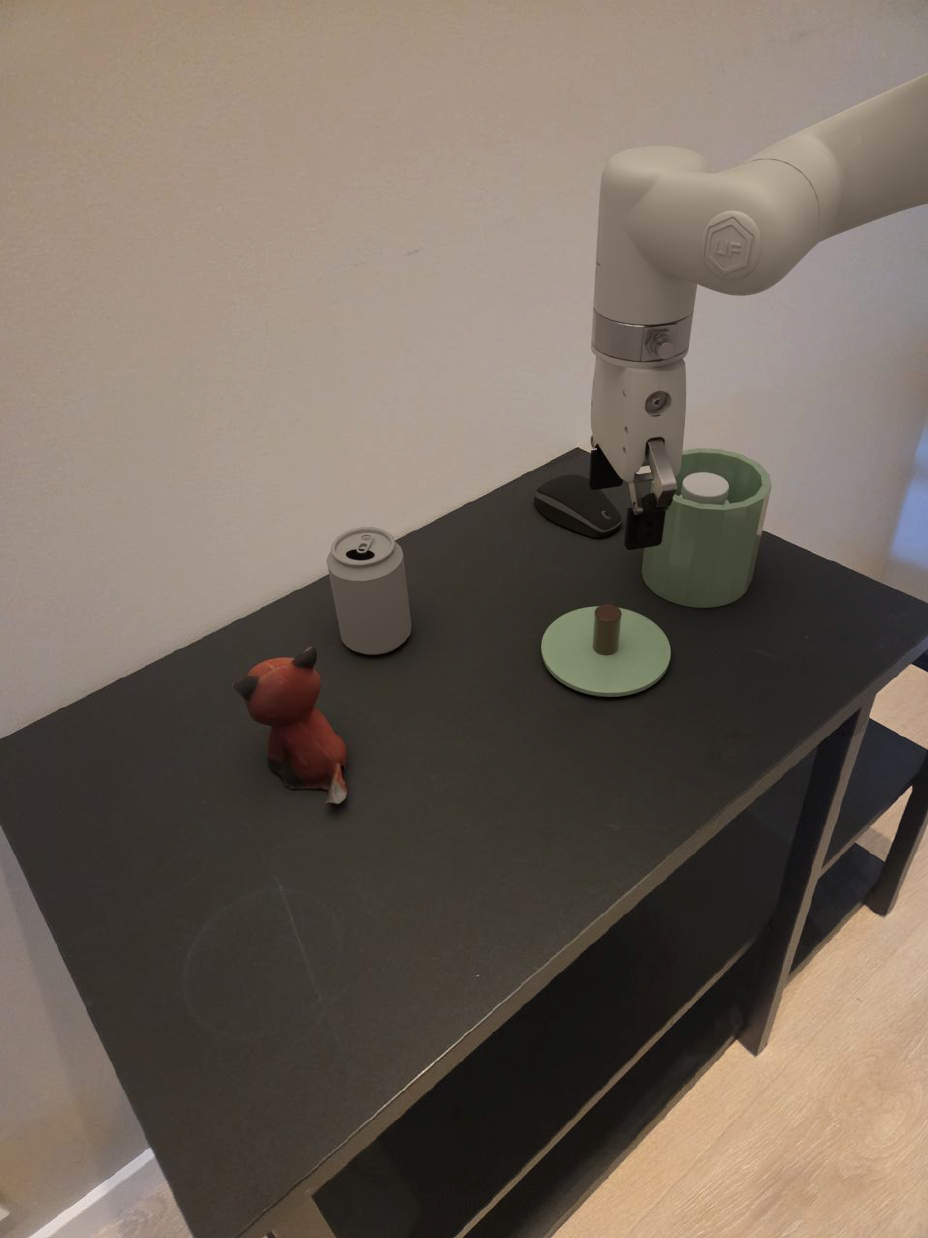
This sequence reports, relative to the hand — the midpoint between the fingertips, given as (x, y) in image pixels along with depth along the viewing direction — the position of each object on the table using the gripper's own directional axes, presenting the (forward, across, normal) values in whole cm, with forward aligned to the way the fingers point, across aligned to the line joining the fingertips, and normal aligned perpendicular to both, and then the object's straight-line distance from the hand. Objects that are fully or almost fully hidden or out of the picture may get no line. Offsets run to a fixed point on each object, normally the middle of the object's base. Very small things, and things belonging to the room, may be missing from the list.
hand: (623, 515), depth 78 cm
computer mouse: (+16, +24, -4) cm, 29 cm away
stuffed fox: (+16, -10, +31) cm, 36 cm away
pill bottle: (+16, +9, -13) cm, 22 cm away
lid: (+15, -1, +1) cm, 15 cm away
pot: (+16, +9, -13) cm, 22 cm away
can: (+16, +8, +23) cm, 29 cm away
